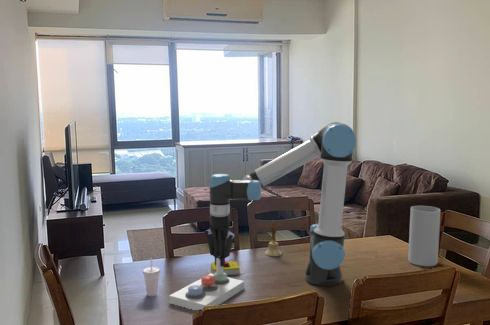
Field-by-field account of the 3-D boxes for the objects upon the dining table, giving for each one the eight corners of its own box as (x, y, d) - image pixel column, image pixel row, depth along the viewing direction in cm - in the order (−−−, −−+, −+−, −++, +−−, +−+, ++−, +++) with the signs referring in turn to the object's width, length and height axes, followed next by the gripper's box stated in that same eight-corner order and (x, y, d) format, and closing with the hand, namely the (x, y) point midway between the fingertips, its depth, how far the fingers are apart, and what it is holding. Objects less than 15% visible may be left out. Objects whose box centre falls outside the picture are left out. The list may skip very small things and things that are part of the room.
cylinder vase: (402, 262, 216) (405, 208, 213) (416, 256, 225) (419, 204, 222) (429, 269, 207) (431, 213, 204) (442, 262, 215) (445, 209, 212)
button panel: (244, 288, 185) (244, 280, 185) (205, 313, 163) (205, 304, 163) (210, 280, 194) (210, 272, 193) (169, 303, 171) (169, 294, 171)
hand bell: (262, 252, 231) (262, 220, 229) (278, 250, 233) (278, 218, 231) (268, 257, 223) (268, 224, 221) (284, 255, 225) (285, 222, 223)
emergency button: (207, 259, 207) (241, 257, 210) (207, 269, 208) (241, 267, 210) (209, 267, 198) (244, 265, 201) (209, 277, 199) (244, 274, 201)
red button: (217, 282, 179) (217, 276, 178) (209, 287, 174) (209, 281, 174) (206, 279, 181) (206, 274, 181) (198, 284, 177) (198, 278, 177)
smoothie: (161, 290, 183) (160, 255, 181) (159, 297, 177) (158, 261, 175) (144, 291, 183) (144, 255, 181) (141, 297, 176) (140, 261, 175)
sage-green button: (229, 278, 186) (229, 273, 185) (222, 283, 181) (222, 277, 181) (218, 276, 188) (218, 271, 188) (210, 280, 184) (210, 275, 184)
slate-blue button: (205, 292, 172) (205, 287, 172) (196, 297, 168) (196, 291, 167) (194, 289, 175) (193, 284, 174) (185, 294, 170) (185, 288, 170)
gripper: (200, 214, 182) (200, 273, 185) (228, 218, 175) (228, 280, 178) (211, 210, 188) (211, 267, 191) (239, 214, 181) (239, 274, 184)
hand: (219, 273), depth 185 cm, fingers closed
